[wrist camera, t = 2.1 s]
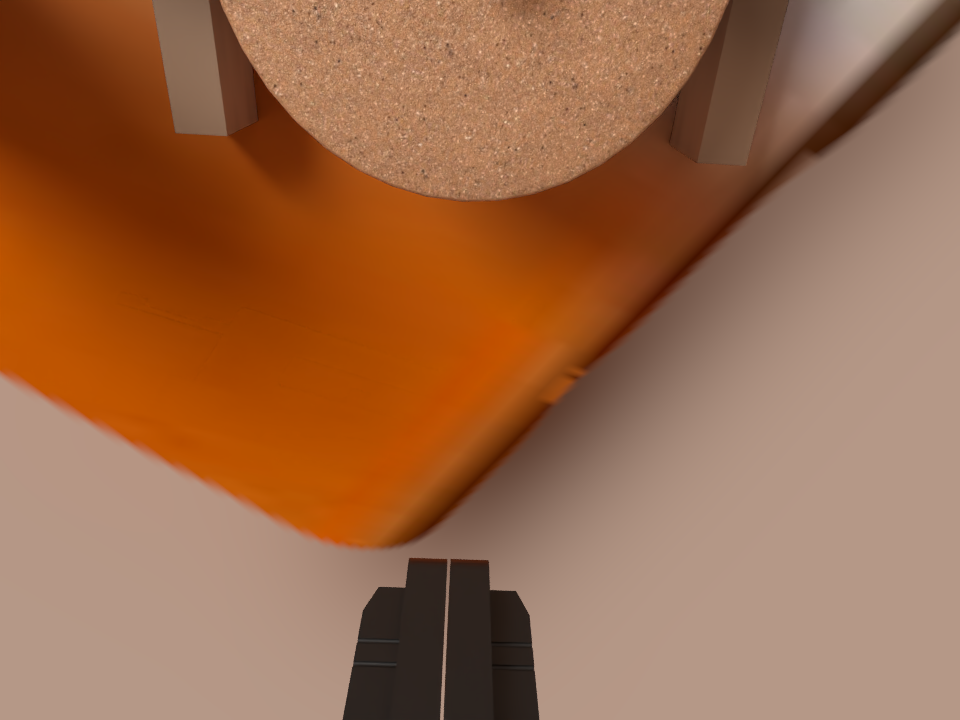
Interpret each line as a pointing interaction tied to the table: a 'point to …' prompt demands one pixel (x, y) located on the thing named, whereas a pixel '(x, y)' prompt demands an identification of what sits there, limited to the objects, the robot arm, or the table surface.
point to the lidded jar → (474, 82)
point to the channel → (698, 120)
